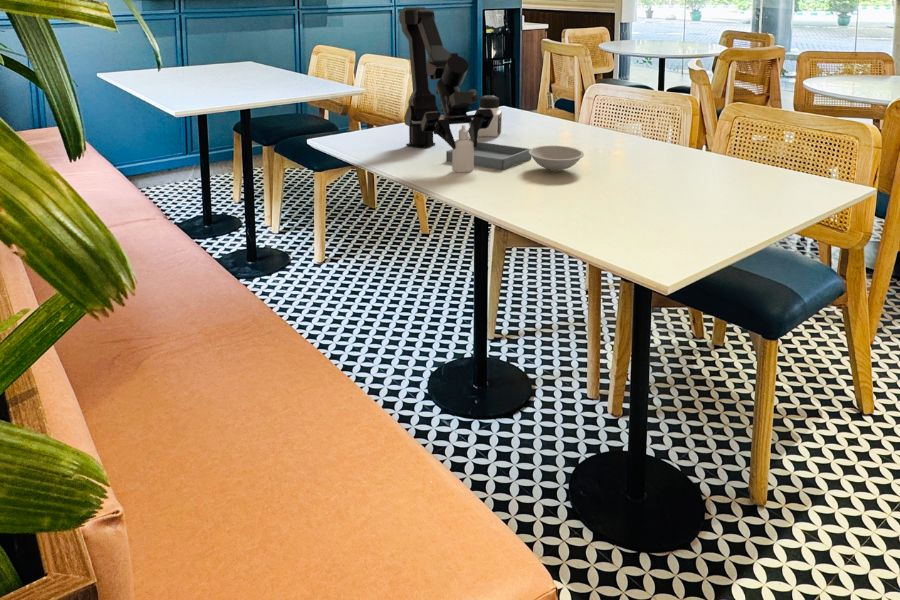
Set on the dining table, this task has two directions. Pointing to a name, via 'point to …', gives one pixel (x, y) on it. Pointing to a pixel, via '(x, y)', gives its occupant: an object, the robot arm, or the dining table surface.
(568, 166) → the dish
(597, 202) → the dining table surface
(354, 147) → the dining table surface
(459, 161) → the eye dropper bottle
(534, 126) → the dining table surface
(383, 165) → the dining table surface
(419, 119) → the robot arm
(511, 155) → the slate tray
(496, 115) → the medicine bottle
